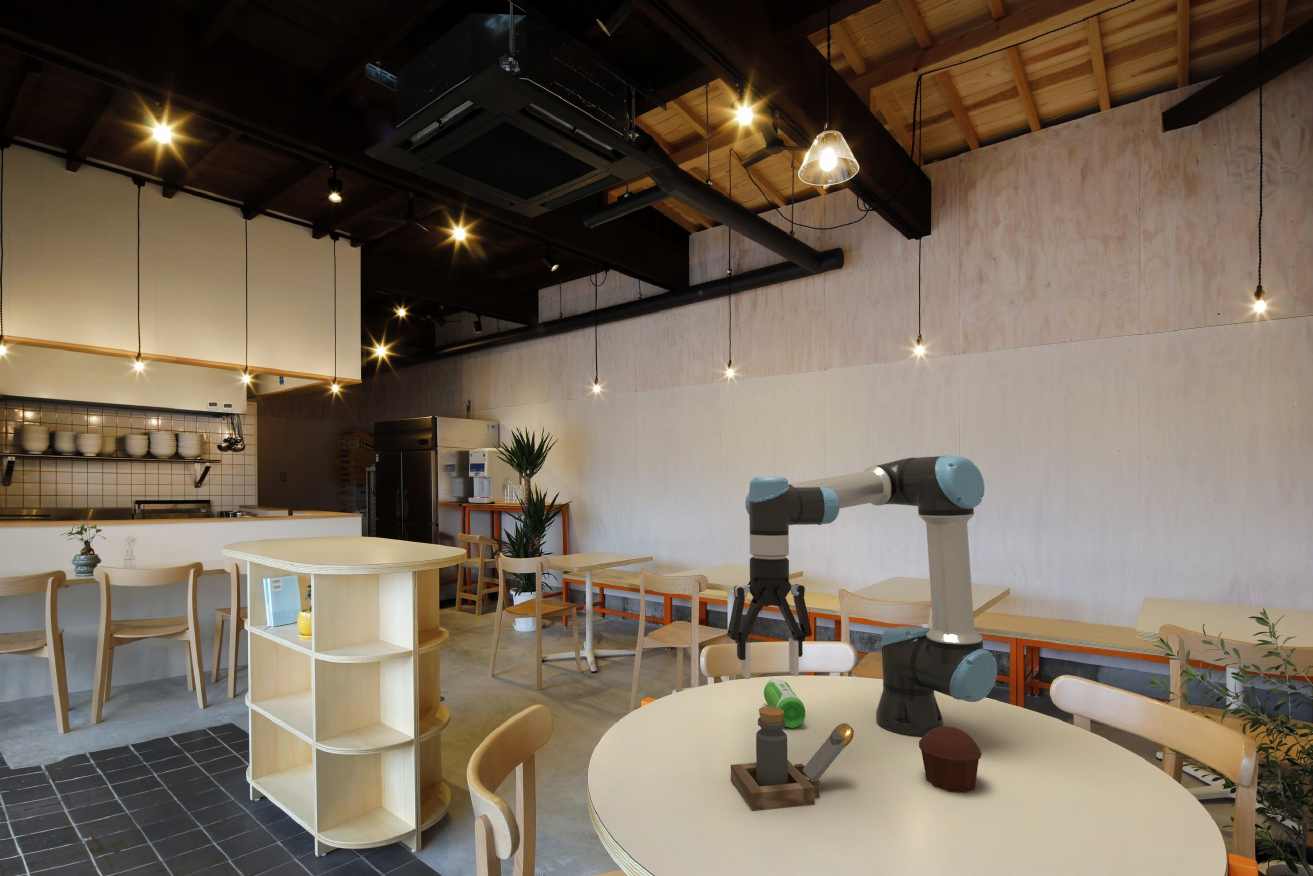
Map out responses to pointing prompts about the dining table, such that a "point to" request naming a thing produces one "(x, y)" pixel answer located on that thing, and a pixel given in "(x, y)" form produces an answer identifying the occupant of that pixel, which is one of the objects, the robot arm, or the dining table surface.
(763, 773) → the bottle
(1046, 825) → the dining table surface
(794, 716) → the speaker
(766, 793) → the socket block
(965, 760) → the muffin
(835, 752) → the bar
